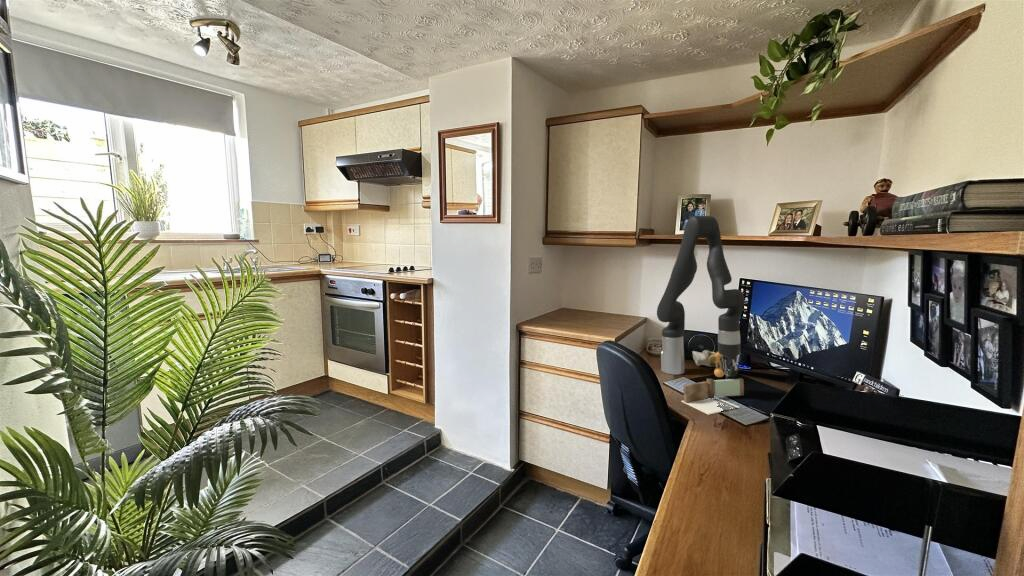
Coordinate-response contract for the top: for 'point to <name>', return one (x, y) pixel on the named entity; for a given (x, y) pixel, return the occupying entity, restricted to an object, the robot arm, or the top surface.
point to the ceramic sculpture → (705, 358)
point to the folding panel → (728, 387)
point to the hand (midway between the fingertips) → (729, 385)
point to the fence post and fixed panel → (699, 391)
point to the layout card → (710, 405)
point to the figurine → (718, 371)
